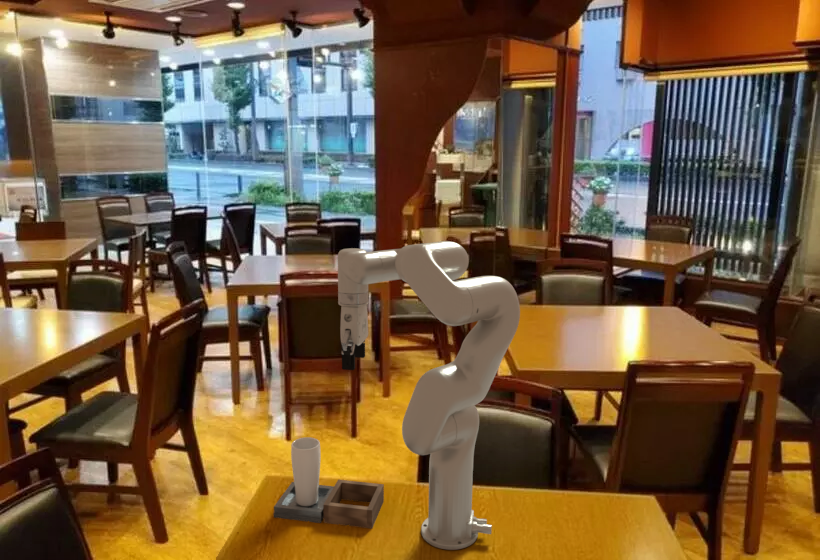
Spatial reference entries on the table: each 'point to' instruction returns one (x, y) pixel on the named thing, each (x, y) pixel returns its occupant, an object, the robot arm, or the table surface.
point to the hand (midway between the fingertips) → (353, 363)
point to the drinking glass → (306, 469)
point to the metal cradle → (293, 511)
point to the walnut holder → (354, 513)
